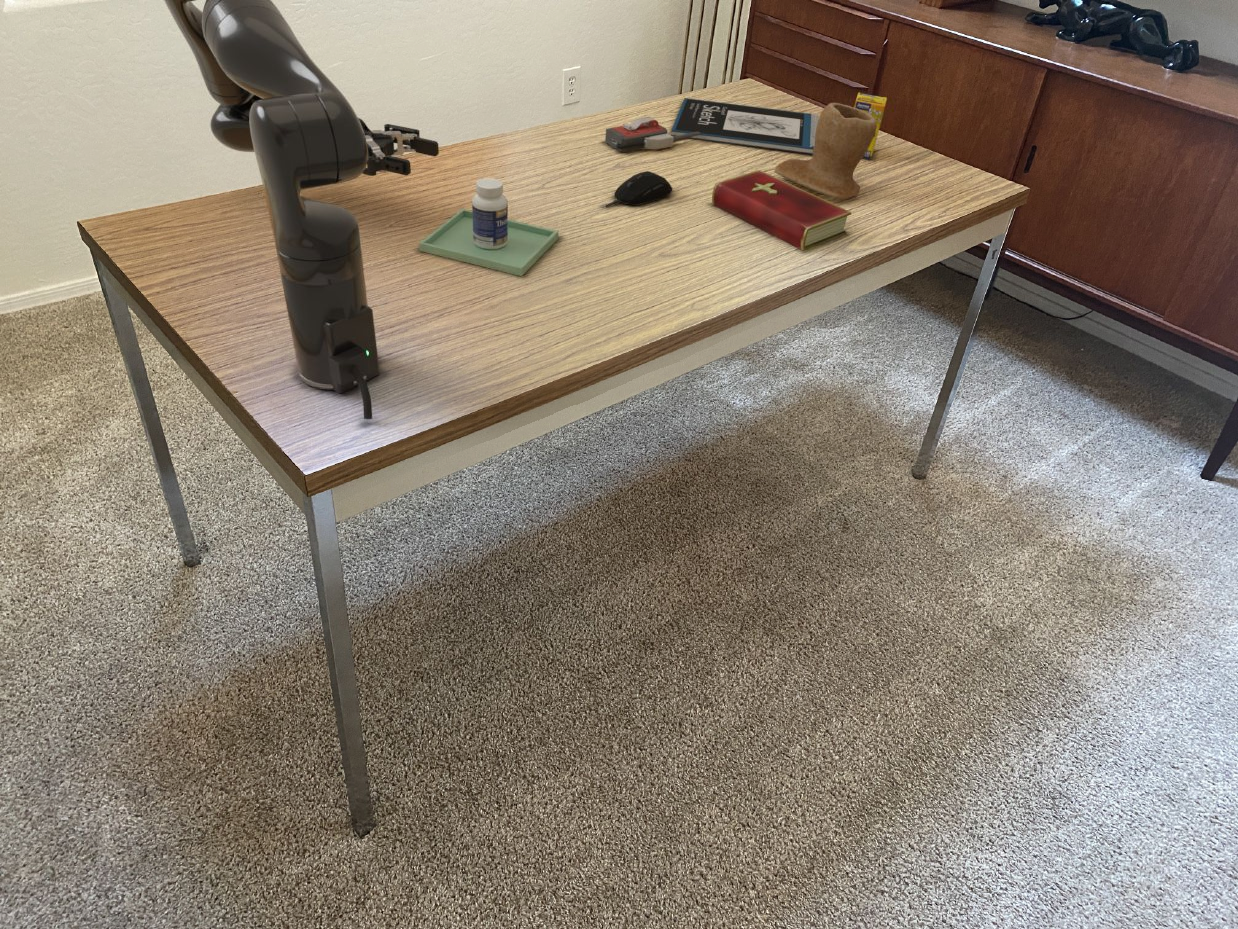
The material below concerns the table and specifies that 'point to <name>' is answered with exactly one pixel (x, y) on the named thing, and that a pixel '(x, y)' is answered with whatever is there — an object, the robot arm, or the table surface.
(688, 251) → the table surface
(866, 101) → the supplement box
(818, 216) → the hardcover book
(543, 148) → the table surface
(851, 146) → the brown boot
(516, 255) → the tray
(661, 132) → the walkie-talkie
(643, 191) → the gaming mouse
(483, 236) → the pill bottle
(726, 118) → the sketchbook
